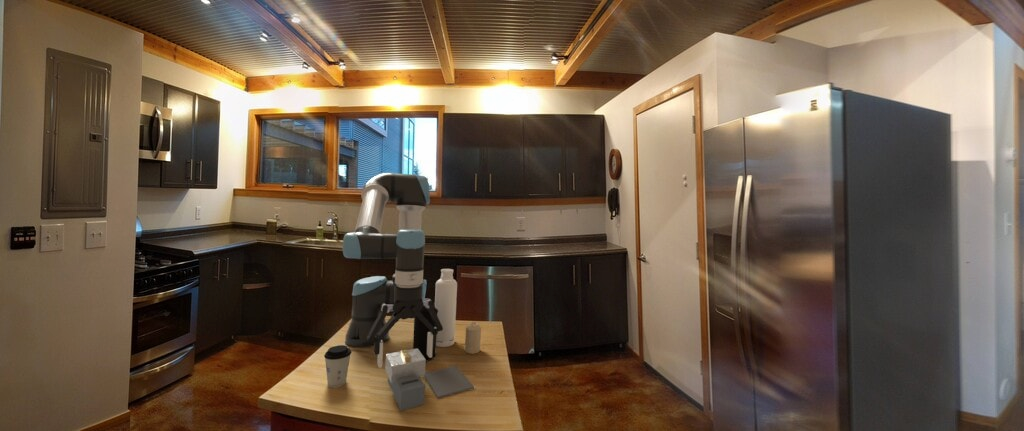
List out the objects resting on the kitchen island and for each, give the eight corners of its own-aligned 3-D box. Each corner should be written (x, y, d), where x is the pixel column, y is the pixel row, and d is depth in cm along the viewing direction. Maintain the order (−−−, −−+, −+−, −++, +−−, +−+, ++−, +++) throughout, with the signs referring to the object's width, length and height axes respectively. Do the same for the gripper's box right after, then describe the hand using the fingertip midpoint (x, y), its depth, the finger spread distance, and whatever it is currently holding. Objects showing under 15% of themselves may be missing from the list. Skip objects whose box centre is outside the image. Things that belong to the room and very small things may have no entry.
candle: (465, 347, 121) (466, 320, 121) (480, 347, 122) (481, 321, 122) (464, 353, 116) (465, 326, 116) (479, 354, 116) (481, 326, 116)
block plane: (387, 380, 96) (388, 360, 96) (408, 376, 99) (409, 356, 99) (400, 410, 82) (401, 386, 82) (424, 404, 85) (425, 381, 85)
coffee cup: (353, 376, 97) (355, 343, 97) (345, 389, 90) (347, 353, 90) (328, 377, 96) (329, 343, 96) (318, 390, 89) (320, 354, 89)
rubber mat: (422, 374, 100) (422, 373, 100) (456, 367, 106) (456, 365, 106) (437, 398, 88) (437, 396, 88) (474, 388, 94) (474, 386, 94)
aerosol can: (429, 363, 108) (432, 303, 107) (407, 359, 109) (409, 300, 109) (440, 352, 116) (442, 297, 115) (418, 349, 117) (421, 294, 117)
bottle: (431, 339, 126) (434, 268, 126) (451, 337, 130) (454, 267, 129) (435, 348, 119) (438, 272, 119) (456, 345, 123) (460, 271, 122)
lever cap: (385, 369, 92) (386, 350, 92) (417, 363, 97) (417, 345, 97) (391, 383, 85) (392, 362, 85) (424, 375, 90) (425, 356, 90)
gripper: (362, 291, 81) (358, 376, 81) (455, 284, 94) (452, 357, 94) (358, 285, 87) (354, 363, 87) (446, 279, 100) (443, 347, 101)
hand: (405, 360), depth 91 cm, fingers open, 13 cm apart
